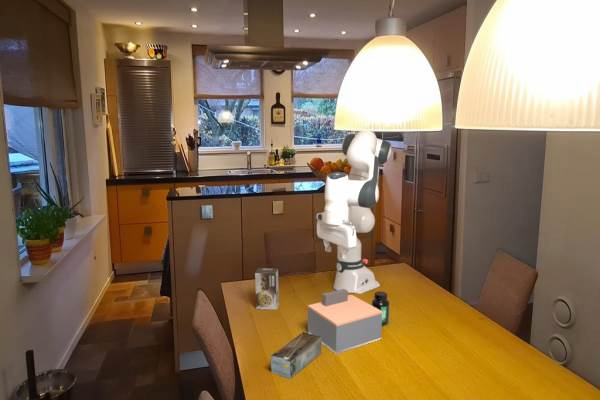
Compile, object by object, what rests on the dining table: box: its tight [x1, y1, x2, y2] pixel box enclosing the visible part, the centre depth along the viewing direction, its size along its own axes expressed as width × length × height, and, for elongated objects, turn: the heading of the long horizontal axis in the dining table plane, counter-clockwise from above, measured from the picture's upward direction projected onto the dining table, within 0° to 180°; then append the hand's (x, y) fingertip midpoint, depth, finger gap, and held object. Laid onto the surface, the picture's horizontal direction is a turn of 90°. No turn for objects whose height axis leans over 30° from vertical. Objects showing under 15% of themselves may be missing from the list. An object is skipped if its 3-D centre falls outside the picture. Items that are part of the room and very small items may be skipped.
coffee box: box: [254, 267, 280, 311], centre depth 188 cm, size 9×6×16 cm
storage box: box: [307, 307, 383, 355], centre depth 162 cm, size 20×18×10 cm
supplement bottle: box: [371, 290, 390, 327], centre depth 174 cm, size 7×7×12 cm
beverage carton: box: [270, 331, 322, 380], centre depth 145 cm, size 8×19×7 cm, turn 146°
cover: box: [307, 289, 382, 326], centre depth 161 cm, size 20×18×5 cm
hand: (335, 254), depth 163 cm, fingers open, 8 cm apart
